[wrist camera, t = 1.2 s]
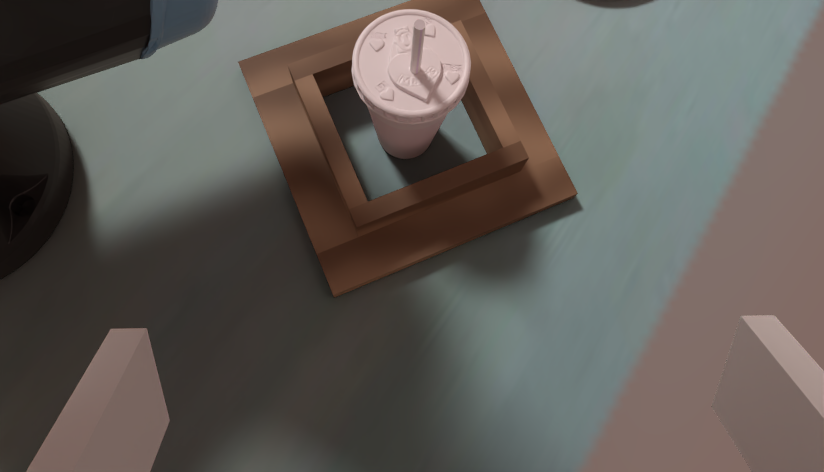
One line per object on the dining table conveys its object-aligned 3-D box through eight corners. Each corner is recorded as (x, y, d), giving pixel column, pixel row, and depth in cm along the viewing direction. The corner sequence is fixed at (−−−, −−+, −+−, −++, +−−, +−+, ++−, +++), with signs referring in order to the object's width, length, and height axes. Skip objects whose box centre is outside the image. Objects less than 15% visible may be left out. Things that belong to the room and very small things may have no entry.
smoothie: (373, 189, 42) (369, 93, 28) (345, 103, 43) (329, -29, 30) (465, 162, 43) (504, 56, 29) (435, 78, 44) (459, -61, 30)
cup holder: (241, 69, 44) (229, 41, 40) (467, -12, 46) (474, -44, 42) (334, 297, 40) (329, 289, 37) (573, 197, 42) (589, 181, 39)
